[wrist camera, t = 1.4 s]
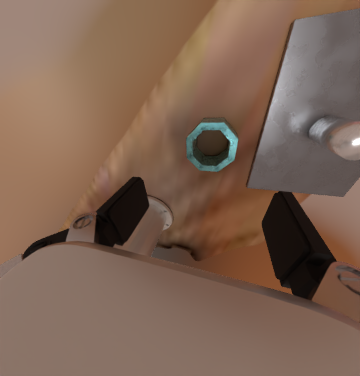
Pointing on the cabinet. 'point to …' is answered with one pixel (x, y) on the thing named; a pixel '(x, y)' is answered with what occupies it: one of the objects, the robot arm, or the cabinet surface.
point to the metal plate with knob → (313, 110)
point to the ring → (212, 161)
